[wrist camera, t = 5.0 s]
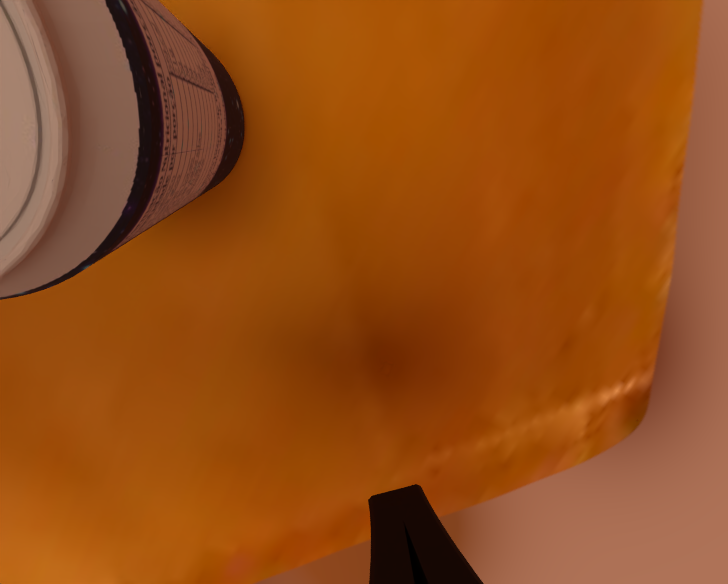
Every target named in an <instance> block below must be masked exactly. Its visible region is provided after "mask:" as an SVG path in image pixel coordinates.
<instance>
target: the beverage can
mask: <svg viewBox="0 0 728 584" xmlns="http://www.w3.org/2000/svg"><path fill="white" fill-rule="evenodd" d="M243 139H244V115H243V109H242V105H241V101H240V98H239V95H238V92H237V90H236V87H235V85H234V83H233V81H232V79H231V77H230V76H229V74H228V72H227V71H226V69H225V68H224V67H223V65H222V64H221V63H220V61H219V60H218V59H217V58H216V57H215V56H214V55H213V53H212V52H211V51H210V50H209V49H207V48H206V47H205V46H204V45H203V44H202V43H201V42H200V41H199V40H198V39H197V38H196V37H195V36H194V35H193V34H192V33H191V32H190V31H189V30H188V29H187V28H186V27H185V26H184V25H183V24H182V23H181V22H180V21H179V20H178V19H177V18H176V17H175V16H174V15H173V14H171V13H170V12H169V11H168V10H167V9H166V8H165V7H164V6H163V5H162V4H161V3H160V2H159V1H158V0H0V300H1V299H7V298H14V297H18V296H23V295H27V294H31V293H34V292H37V291H41V290H44V289H47V288H49V287H52V286H54V285H57V284H59V283H61V282H63V281H65V280H67V279H69V278H71V277H73V276H75V275H76V274H78V273H79V272H81V271H83V270H84V269H86V268H87V267H89V266H91V265H92V264H94V263H95V262H97V261H98V260H100V259H102V258H103V257H105V256H106V255H108V254H109V253H111V252H113V251H114V250H116V249H117V248H119V247H120V246H122V245H124V244H125V243H127V242H128V241H130V240H131V239H133V238H135V237H136V236H138V235H139V234H141V233H142V232H144V231H146V230H147V229H149V228H150V227H152V226H153V225H155V224H157V223H158V222H160V221H161V220H163V219H164V218H166V217H168V216H169V215H171V214H172V213H174V212H175V211H177V210H179V209H180V208H182V207H183V206H185V205H186V204H188V203H190V202H191V201H193V200H194V199H196V198H197V197H199V196H201V195H202V194H204V193H205V192H207V191H208V190H210V189H212V188H213V187H215V186H216V185H217V184H219V183H220V182H221V181H222V180H223V179H224V178H225V177H226V176H227V175H228V174H229V173H230V171H231V170H232V169H233V167H234V165H235V164H236V162H237V160H238V157H239V155H240V152H241V149H242V145H243Z"/></svg>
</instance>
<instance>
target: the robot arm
mask: <svg viewBox="0 0 728 584" xmlns="http://www.w3.org/2000/svg"><path fill="white" fill-rule="evenodd" d="M368 502H369V509H370V521H371V563H370V581H369V584H483V582H482V581H481V580H480V578H479V577H478V576H477V574H476V573H475V572H474V570H473V569H472V567H471V566H470V565H469V563H468V562H467V560H466V559H465V558H464V556H463V555H462V553H461V552H460V551H459V549H458V548H457V546H456V545H455V543H454V542H453V540H452V539H451V537H450V536H449V534H448V533H447V531H446V530H445V528H444V527H443V525H442V523H441V522H440V520H439V519H438V517H437V515H436V514H435V512H434V510H433V509H432V507H431V505H430V503H429V501H428V500H427V498H426V496H425V494H424V492H423V490H422V488H421V486H419V485H417V484H415V485H412V486H408V487H404V488H400V489H396V490H393V491H389V492H385V493H381V494H377V495H374V496H371V497H370V499H369V500H368Z"/></svg>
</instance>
